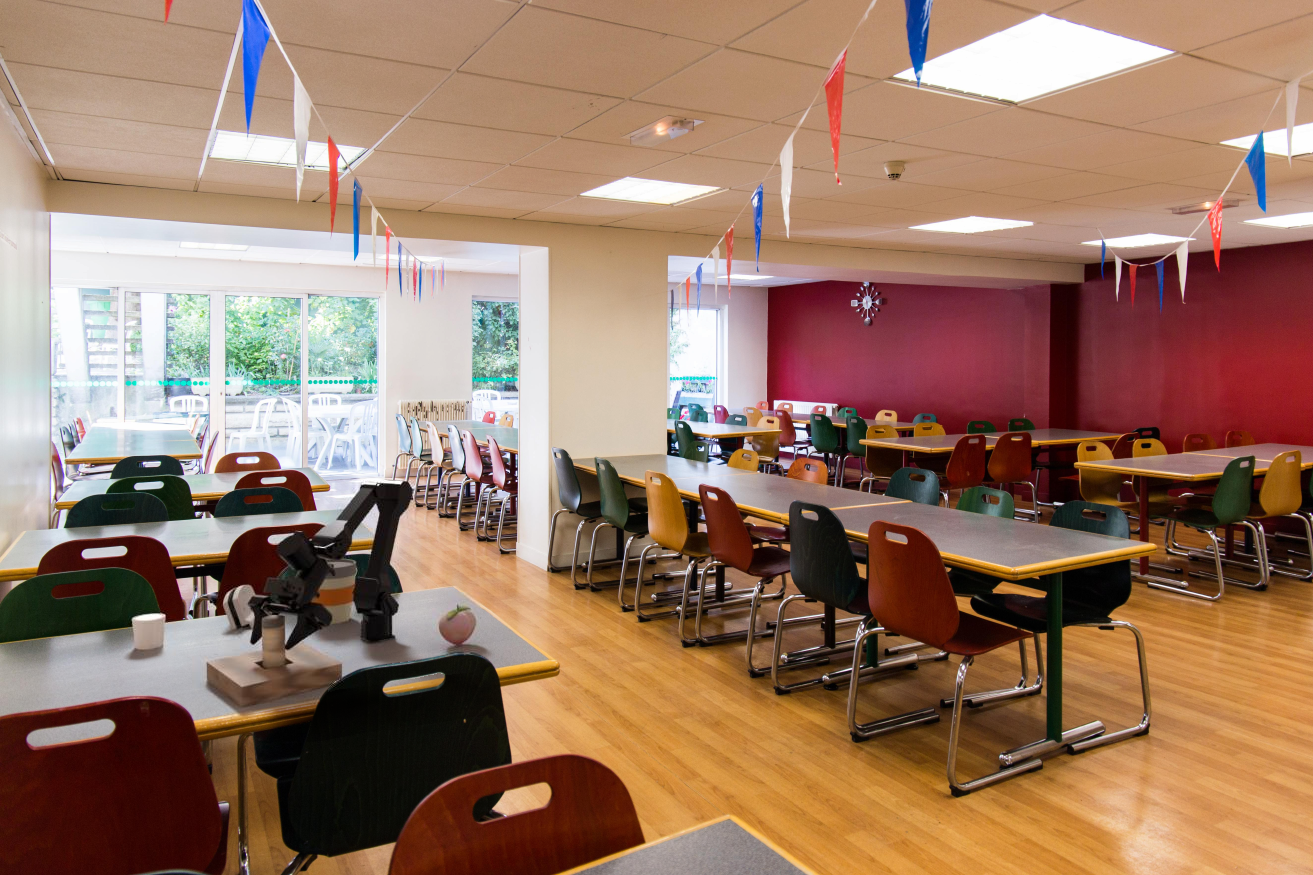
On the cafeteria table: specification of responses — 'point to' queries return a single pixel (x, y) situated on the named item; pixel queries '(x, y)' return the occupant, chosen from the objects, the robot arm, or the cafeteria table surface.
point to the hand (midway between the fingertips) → (268, 646)
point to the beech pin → (273, 641)
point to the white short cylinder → (148, 630)
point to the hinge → (239, 606)
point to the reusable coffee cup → (338, 590)
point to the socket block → (272, 675)
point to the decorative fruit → (457, 625)
